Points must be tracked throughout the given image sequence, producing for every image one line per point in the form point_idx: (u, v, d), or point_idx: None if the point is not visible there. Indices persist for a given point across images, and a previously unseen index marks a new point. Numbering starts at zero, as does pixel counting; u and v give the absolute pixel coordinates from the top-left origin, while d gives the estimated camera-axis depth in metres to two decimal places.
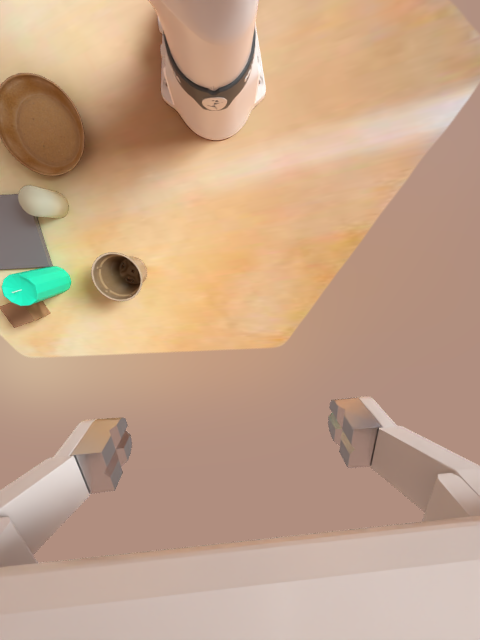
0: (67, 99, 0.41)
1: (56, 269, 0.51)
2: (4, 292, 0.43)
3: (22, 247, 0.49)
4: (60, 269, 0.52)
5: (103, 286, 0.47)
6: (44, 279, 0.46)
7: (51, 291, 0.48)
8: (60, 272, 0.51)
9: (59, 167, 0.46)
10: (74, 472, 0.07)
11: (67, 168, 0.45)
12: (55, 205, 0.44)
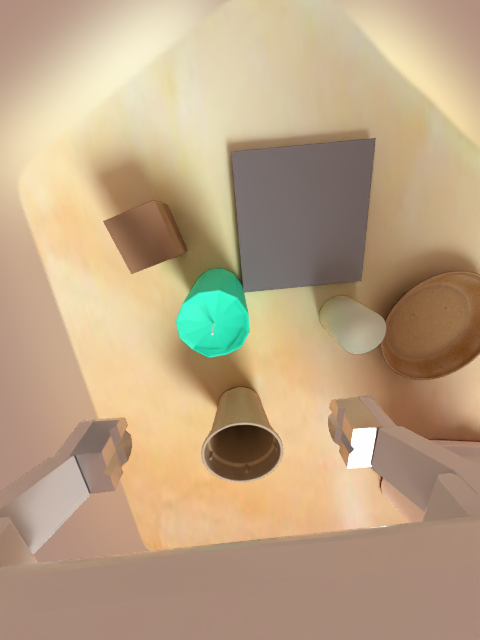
0: (457, 363, 0.32)
1: None
2: (206, 294, 0.18)
3: (277, 253, 0.26)
4: None
5: None
6: None
7: None
8: None
9: None
10: (74, 472, 0.07)
11: (384, 346, 0.31)
12: None
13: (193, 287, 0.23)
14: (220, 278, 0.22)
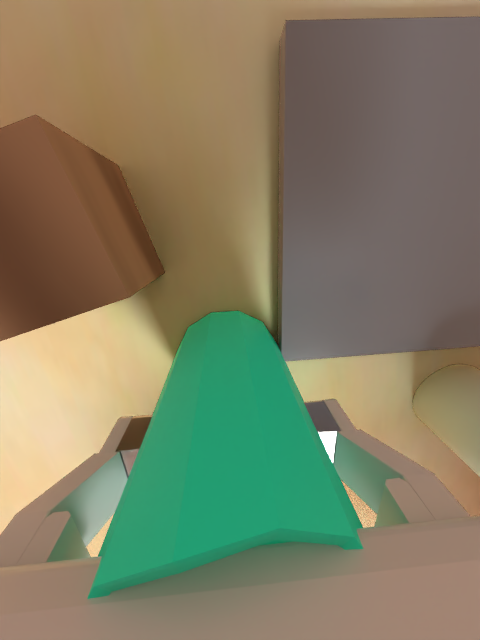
0: None
1: None
2: (215, 557, 0.03)
3: (363, 285, 0.12)
4: None
5: None
6: None
7: None
8: None
9: None
10: (119, 468, 0.07)
11: None
12: None
13: (169, 387, 0.08)
14: (248, 368, 0.08)
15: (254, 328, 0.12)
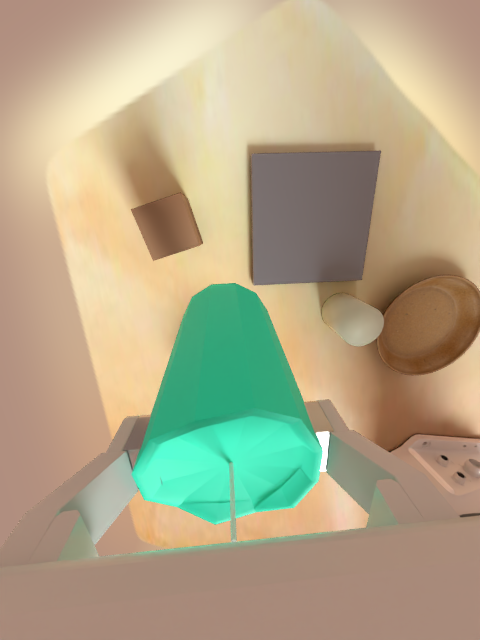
0: (444, 360, 0.35)
1: None
2: (217, 422, 0.06)
3: (287, 250, 0.29)
4: None
5: None
6: None
7: None
8: None
9: None
10: (126, 467, 0.07)
11: (379, 343, 0.34)
12: None
13: (181, 342, 0.11)
14: (241, 326, 0.10)
15: (247, 298, 0.14)
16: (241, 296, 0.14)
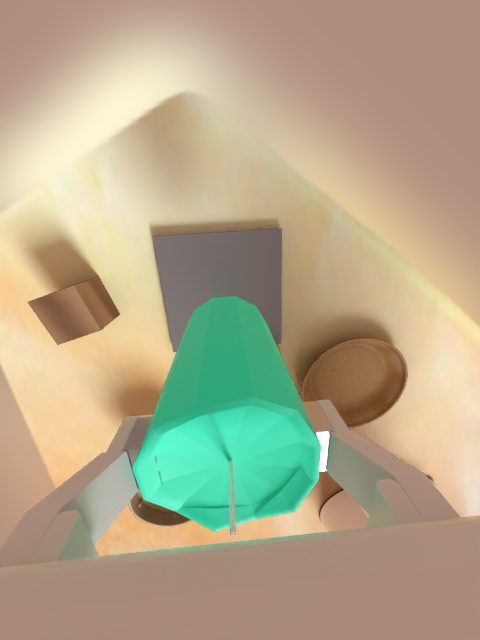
0: (375, 412, 0.35)
1: None
2: (217, 410, 0.06)
3: None
4: None
5: None
6: None
7: None
8: None
9: (309, 384, 0.34)
10: (126, 467, 0.07)
11: (308, 398, 0.34)
12: None
13: (183, 346, 0.11)
14: (240, 331, 0.11)
15: (247, 309, 0.15)
16: (241, 307, 0.14)
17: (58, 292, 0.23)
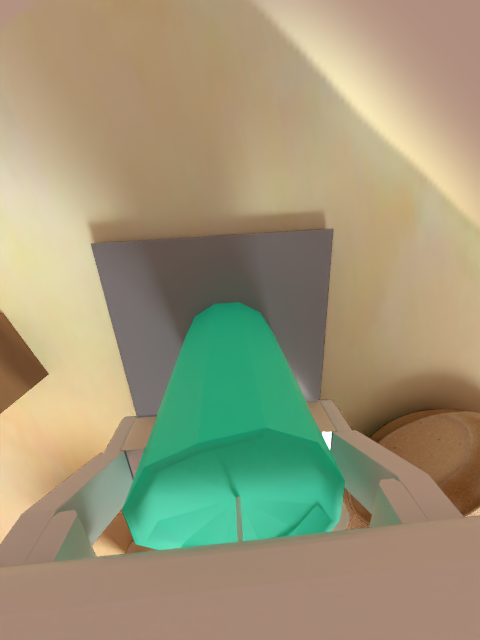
0: None
1: None
2: (223, 444, 0.05)
3: None
4: None
5: None
6: None
7: None
8: None
9: None
10: (124, 467, 0.07)
11: None
12: None
13: (183, 359, 0.10)
14: (246, 343, 0.10)
15: (252, 316, 0.14)
16: (245, 314, 0.13)
17: None
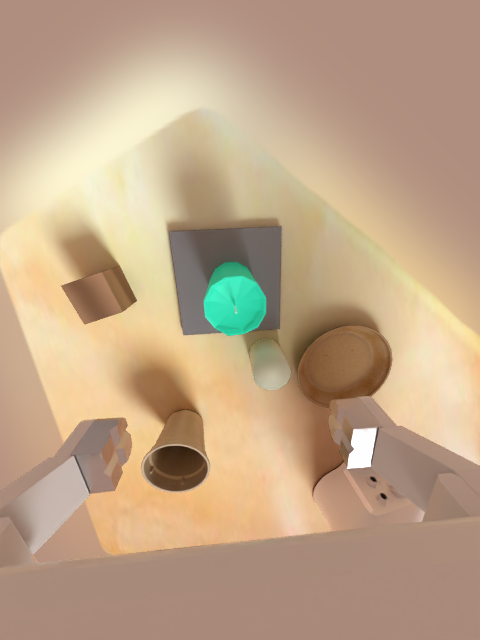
0: (363, 394, 0.39)
1: None
2: (231, 279, 0.21)
3: None
4: None
5: None
6: None
7: None
8: None
9: (304, 368, 0.38)
10: (74, 472, 0.07)
11: (303, 381, 0.38)
12: None
13: (214, 275, 0.26)
14: (239, 268, 0.25)
15: (242, 266, 0.29)
16: (239, 264, 0.29)
17: (88, 277, 0.27)
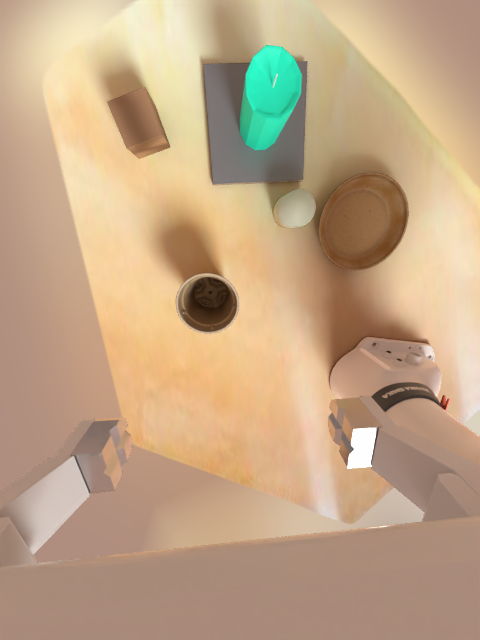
0: (381, 257, 0.41)
1: None
2: (272, 48, 0.23)
3: (238, 151, 0.35)
4: None
5: (193, 278, 0.35)
6: (279, 127, 0.28)
7: (256, 129, 0.29)
8: (274, 140, 0.33)
9: (324, 229, 0.40)
10: (74, 472, 0.07)
11: (323, 241, 0.40)
12: (290, 227, 0.36)
13: None
14: None
15: None
16: None
17: (132, 93, 0.29)
